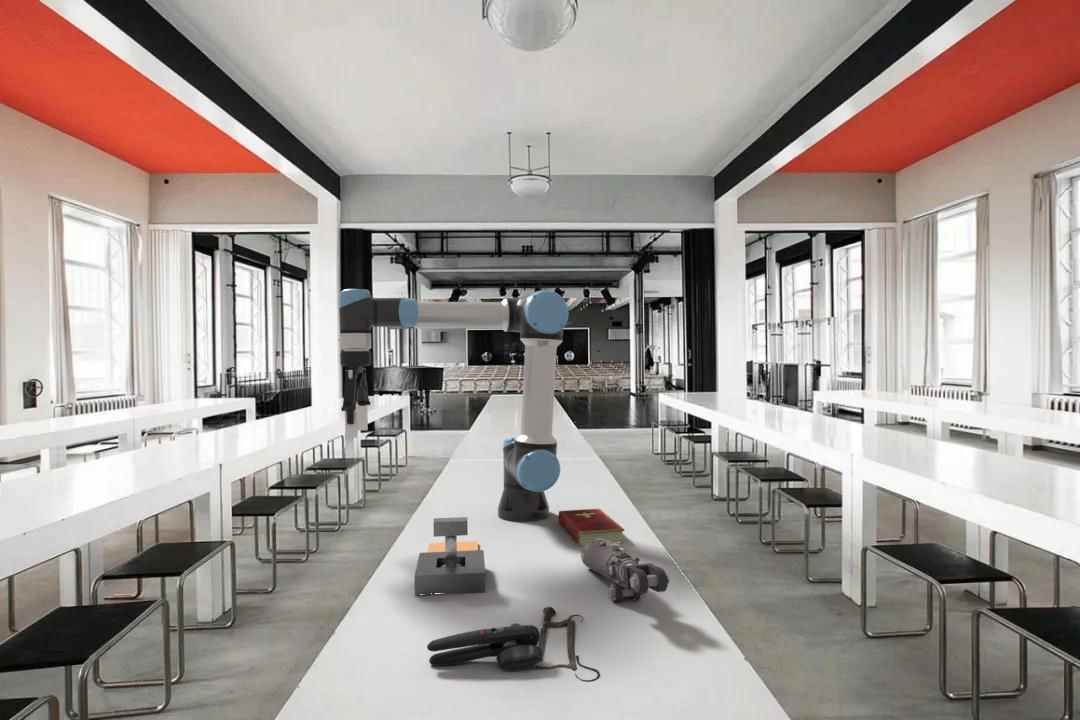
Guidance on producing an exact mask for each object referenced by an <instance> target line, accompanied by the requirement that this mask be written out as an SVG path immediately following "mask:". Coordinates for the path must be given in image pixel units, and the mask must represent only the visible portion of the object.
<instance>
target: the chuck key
mask: <svg viewBox="0 0 1080 720" xmlns="http://www.w3.org/2000/svg"><path fill="white" fill-rule="evenodd" d="M468 528H469V527H468V516H464V517H463V516H462V517H461V516H460V517H459V516H458V517H436V518H433V537H435V538H436V537H444V542H445V564H444V565H442V566H441V567H462V566H461V565H460V564H457V542H458V541H457V538H458V537H457V536H460V537H461V536H468V533H469V532H468Z"/></svg>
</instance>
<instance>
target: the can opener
mask: <svg viewBox="0 0 1080 720" xmlns="http://www.w3.org/2000/svg"><path fill="white" fill-rule="evenodd" d="M539 637H540V630H539V628H538V627H537V626H536V625H533V624H523V625H522V624H521V625H520V624H519V623H518V622H514V623H512V624H511V625H509V626H503V625H501V624H500V625H496V627H492V628H484V629H476V630H473V631H465V632H462V633H456V634H453V635H448V636H445V637H441V638H437V639H434V640H433V639H432V640H431V641H429V642H428V644H427V646H426V648H427V650H428V651H429V652H432V653H433V652H438V653H434V654H432V655H431V656H430V657H429V660H428V662H429V664H430V665H432V666H452V665H457V664H458V665H459V664H462V663H467V662H471V661H476V660H480V659H484V658H485V659H486V658H489V657H490V658H491V657H495V658H496V661H497V664H498V667H499V668H500V669H502V670H504V671H512V672H513V671H521V670H526V669H531V668H533V666H538V664H540V663H541V662H540V661H541V659H542V649H541V648H540V647H538V642H539ZM439 651H440V652H439ZM441 651H442V652H441Z"/></svg>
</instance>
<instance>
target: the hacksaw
mask: <svg viewBox="0 0 1080 720" xmlns="http://www.w3.org/2000/svg"><path fill="white" fill-rule="evenodd" d="M542 610H543V620H542V625H541V626H542V627H540V630H539V634H540V636H539V641H538V644H537V646H538V647H540V648H541V649H542V659H541V661H540V662H539V663H541V662H543V661H544V655H545V654H544V653H545V649H546V643H547V635H548V628H549V627H562V626H563V627H564V626H567V627H566V628H567V633H566V635H567V636H566V637H567V639H566V640H567V644H566V645H567V646H566V647H567V648H566V649H567V657H568V661H569V662H568V664H567V663H566V664H563V663H562V664H560V663H559V664H555V665H549V666H548V665H547V666H545V665H535V666H532V667H531V668H532V670H536V671H542V670H547V671H548V670H555V669H559V668H561V669H563V668H565V669H571V670H572V671H574V673H575V674H574V676H575V678H576V679H577V680H579V681H582V682H585V683H588V682H595V681H596V680H599V678H600V677H601V674H600V671H599V670H598V669H597V668H594V667H589V666H586V665H583V664H581V663H580V661H579V655H578V654H575V628H576V621H574V620H573V618H574V617H580V618H581V621H579V622H578V624H579V623H581V622H583V621H584V617H583V616H582V615H580V614H571V615H570V616H569V617H567V619H564V620H561V621H551V619H552V617H553V616H555V614H556V613H557V612H556V609H555V608H554V607H553V606H546V607H544V608H543V609H542ZM576 663H577V664H576ZM577 665H578V666H579V667H580V668H583V669H586V670H589V671H593V672H595V673H596V674H597V676H596V677H595V678H593V679H587V680H586V679H582V678H580V677H578V675H577V674H576V670H578V666H577Z"/></svg>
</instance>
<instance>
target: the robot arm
mask: <svg viewBox="0 0 1080 720" xmlns="http://www.w3.org/2000/svg"><path fill="white" fill-rule="evenodd" d="M568 307H569V306H568V303H567V301H566V300H565V299H564V298H563V296H561V295H560V294H559V293H557V292H555V291H552V290H547V289H546V290H537V291H534V292H533V293H530V294H528V295H524V296H521V297H516V298H515V297H514V298H504V299H503V300H502V301H497V302H496V301H490V302H489V301H483V302H482V301H418V300H417V299H416V298H412V297H410V298H409V297H408V298H407V297H404V296H403V297H373V296H372V295H371V292H370V290H369V289H363V288H362V289H361V288H347V289H346V288H345V289H343V290H341V291H340V293H339V308H338V309H339V310H338V311H339V334H340V336H339V337H338V338H337V341H338V342H340V349H341V350H342V351H340V353H339V354H340V355H339V356H340V365H341V366H342V367H348V369H346V370H345V372H344V373H345V375H344V377H345V378H344V379H345V380H344V391H343V400H342V406H341V407H340V409H341V411H342V412H344V428H345V430H344V433H345V438H346V439H348V438H352V439H354V438H356V439H357V438H358V431H368V430H369V429H368V427H369V426H368V425H369V424H368V423H369V421H368V417H369V415H368V406H371V401H370V398H369V389H368V381H367V369H366V368H363V367H364V366H365V367H368V366H371V365H372V352H371V351H370V350H371V349H372V330H371V328H387V329H388V330H403V329H404V330H405V329H407V330H412V329H501V330H502V331H504V332H505V333H507V332H510V333H511V332H513V333H514V332H515V333H520V336H519V337H520V338H519V340H520V341H521V343H523V344H524V365H523V381H522V382H523V383H522V384H523V385H522V402H521V422H520V433H519V434H518V435H517V436H516V437H506V438H505V439H504V440H503V446H502V451H503V454H502V455H503V457H502V458H503V490H502V493H501V497H500V500H499V503H498V506H497V516H498V517H499V518H500V519H503V520H507V521H514V522H532V521H538V520H542V519H545V518H547V517H549V515H550V506H549V503H548V500H547V497H546V493H545V491H547V490H549V489H551V488H553V486H554V485H556V484H557V481H558V480H559V478H560V475H561V465H560V460H559V459H558V457H557V449H558V448H557V447H558V440H557V439H556V438H555V437H554V436H553V425H554V424H553V422H554V421H553V420H554V419H553V418H554V404H555V403H554V402H555V385H556V383H555V382H556V366H557V365H556V363H557V348H558V346H560V345H561V344H562V343H563V341H564V339H563V337H564V328H565V326H567V322H568V319H569V316H570V315H569V313H570V311H569V308H568Z"/></svg>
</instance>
